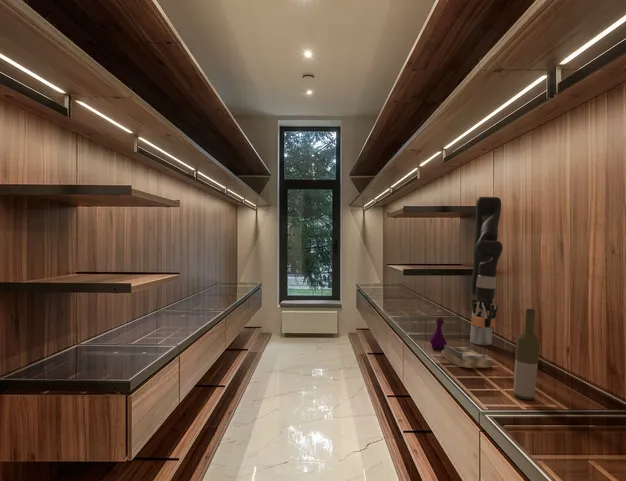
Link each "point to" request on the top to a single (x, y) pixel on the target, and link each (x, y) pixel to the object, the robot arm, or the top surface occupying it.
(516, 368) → the bottle
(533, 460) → the top surface
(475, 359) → the dock
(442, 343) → the perfume bottle
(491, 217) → the robot arm
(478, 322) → the orange box with handle
